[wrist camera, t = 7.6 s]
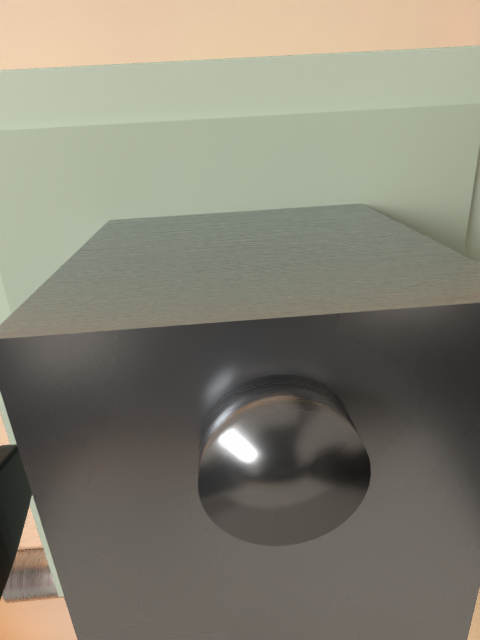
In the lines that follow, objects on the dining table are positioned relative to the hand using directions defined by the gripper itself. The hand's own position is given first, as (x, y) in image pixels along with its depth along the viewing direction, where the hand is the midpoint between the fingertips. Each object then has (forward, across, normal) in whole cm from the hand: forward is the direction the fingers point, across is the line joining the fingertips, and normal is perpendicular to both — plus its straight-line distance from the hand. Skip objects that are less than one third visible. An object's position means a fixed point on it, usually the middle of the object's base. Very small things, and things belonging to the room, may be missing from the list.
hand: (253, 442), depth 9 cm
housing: (+2, 0, 0) cm, 2 cm away
